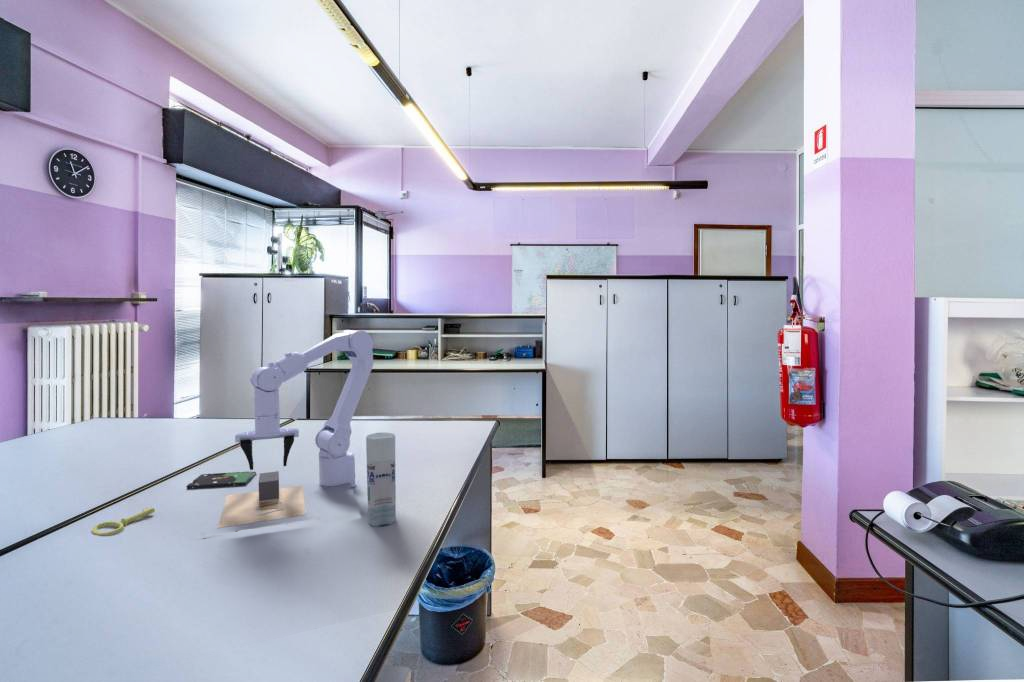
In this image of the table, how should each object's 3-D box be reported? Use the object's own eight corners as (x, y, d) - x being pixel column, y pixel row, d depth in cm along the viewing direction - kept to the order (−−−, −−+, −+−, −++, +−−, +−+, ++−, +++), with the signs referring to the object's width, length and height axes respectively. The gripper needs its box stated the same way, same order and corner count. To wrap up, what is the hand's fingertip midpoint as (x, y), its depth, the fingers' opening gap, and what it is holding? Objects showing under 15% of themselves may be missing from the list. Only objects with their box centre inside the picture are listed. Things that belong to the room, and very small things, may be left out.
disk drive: (186, 496, 136) (246, 491, 139) (185, 486, 136) (246, 481, 139) (201, 483, 146) (257, 479, 149) (200, 474, 146) (256, 469, 149)
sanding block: (279, 489, 136) (278, 471, 135) (279, 499, 128) (278, 480, 128) (260, 492, 134) (259, 473, 134) (259, 502, 127) (258, 482, 126)
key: (157, 515, 123) (157, 506, 123) (112, 538, 110) (112, 528, 110) (129, 514, 123) (129, 505, 123) (82, 537, 111) (81, 527, 111)
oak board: (302, 489, 139) (302, 485, 139) (306, 519, 119) (306, 514, 119) (227, 499, 132) (226, 495, 132) (217, 533, 112) (217, 527, 112)
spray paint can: (365, 517, 120) (364, 434, 119) (393, 513, 123) (392, 431, 122) (369, 528, 114) (368, 440, 113) (398, 523, 117) (397, 437, 116)
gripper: (297, 409, 137) (298, 459, 137) (236, 413, 131) (237, 466, 131) (298, 414, 130) (299, 466, 131) (233, 419, 124) (235, 473, 125)
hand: (268, 466), depth 131 cm, fingers open, 7 cm apart
